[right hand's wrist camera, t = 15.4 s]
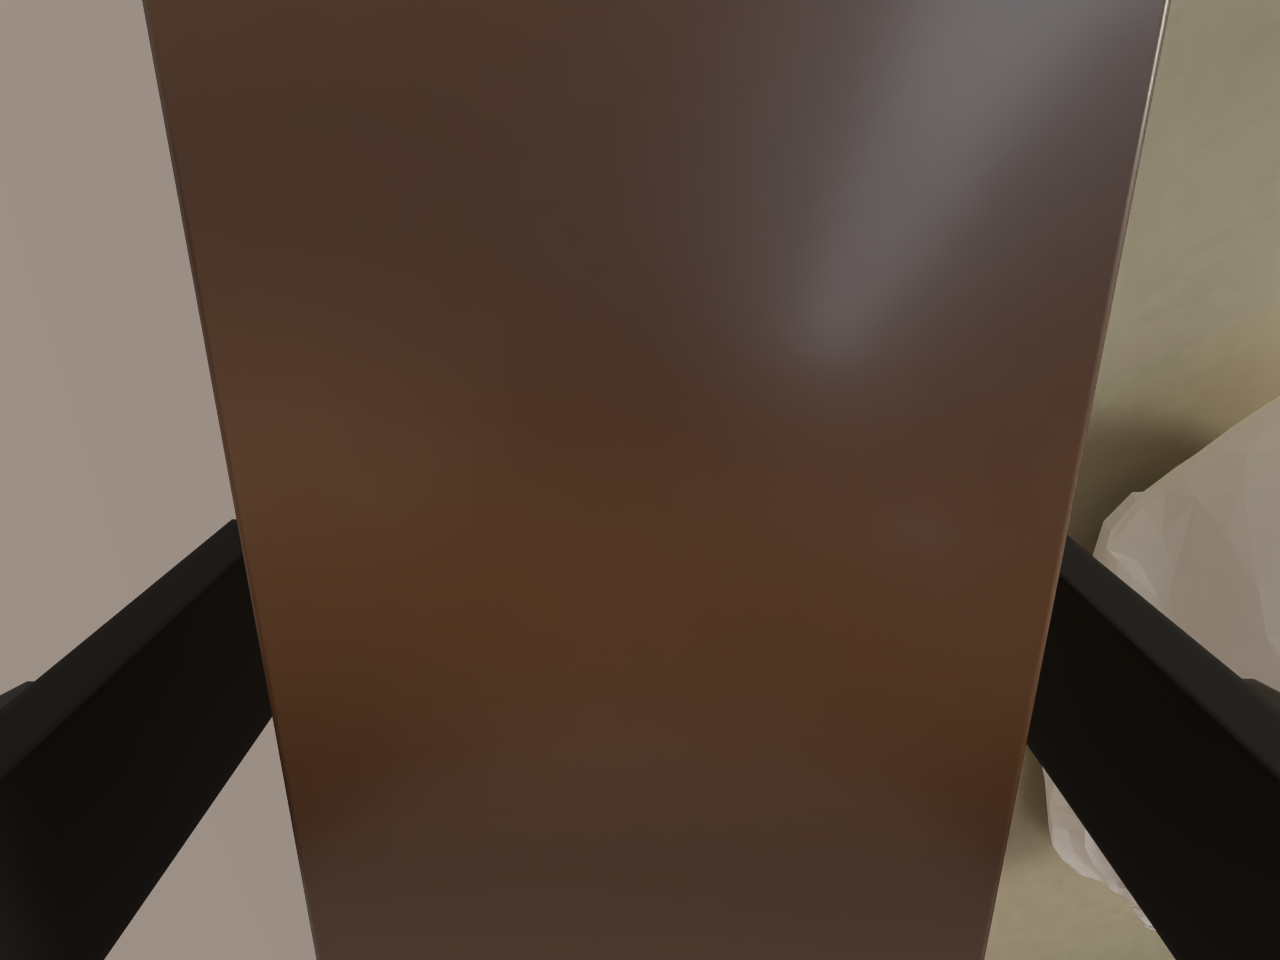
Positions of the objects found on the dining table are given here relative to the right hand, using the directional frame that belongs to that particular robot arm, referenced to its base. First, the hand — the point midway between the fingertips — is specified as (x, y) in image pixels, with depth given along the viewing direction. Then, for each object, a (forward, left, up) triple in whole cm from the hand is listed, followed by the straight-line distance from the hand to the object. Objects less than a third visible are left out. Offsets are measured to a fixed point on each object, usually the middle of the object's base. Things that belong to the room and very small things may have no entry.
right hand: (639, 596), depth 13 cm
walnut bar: (-7, -3, -2) cm, 8 cm away
